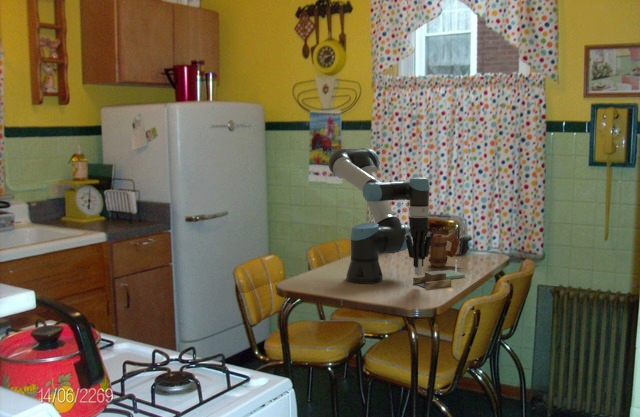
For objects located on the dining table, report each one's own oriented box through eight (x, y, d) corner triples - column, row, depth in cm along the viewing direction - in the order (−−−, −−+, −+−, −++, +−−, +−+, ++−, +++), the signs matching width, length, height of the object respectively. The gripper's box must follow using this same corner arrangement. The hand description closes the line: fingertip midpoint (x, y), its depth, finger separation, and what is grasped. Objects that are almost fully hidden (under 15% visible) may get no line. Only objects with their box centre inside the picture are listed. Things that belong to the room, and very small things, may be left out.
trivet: (445, 279, 273) (445, 276, 273) (431, 274, 282) (431, 271, 282) (464, 277, 277) (464, 274, 277) (450, 272, 286) (450, 269, 286)
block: (431, 286, 261) (431, 274, 260) (424, 284, 266) (424, 272, 265) (445, 285, 264) (446, 273, 263) (439, 282, 268) (439, 270, 268)
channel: (426, 288, 257) (426, 282, 257) (413, 283, 266) (413, 277, 266) (451, 285, 262) (451, 279, 262) (437, 280, 271) (437, 274, 271)
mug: (432, 268, 294) (433, 235, 292) (424, 264, 302) (425, 232, 300) (461, 266, 298) (462, 234, 296) (453, 263, 305) (454, 231, 304)
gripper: (410, 218, 251) (409, 278, 254) (438, 216, 257) (437, 275, 259) (399, 216, 258) (399, 274, 261) (427, 214, 264) (426, 271, 266)
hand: (418, 274), depth 260 cm, fingers closed
